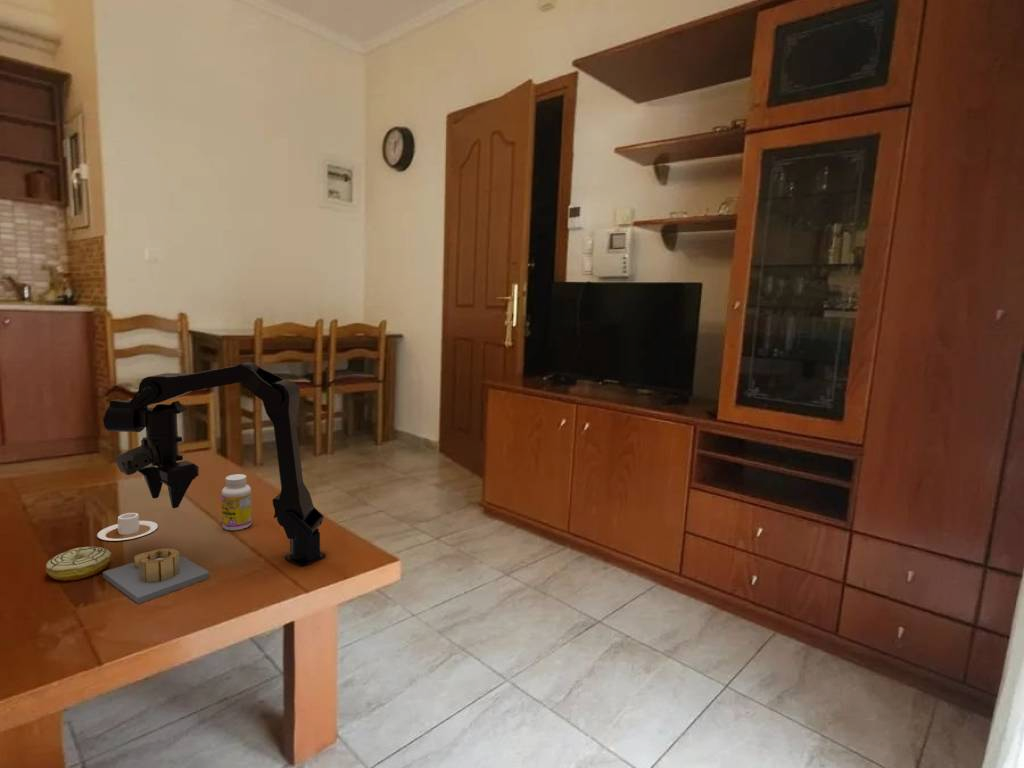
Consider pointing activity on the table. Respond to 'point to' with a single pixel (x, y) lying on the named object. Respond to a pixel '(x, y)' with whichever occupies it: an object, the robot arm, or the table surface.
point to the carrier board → (142, 591)
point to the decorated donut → (78, 563)
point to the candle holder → (127, 527)
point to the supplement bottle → (236, 503)
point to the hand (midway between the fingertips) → (165, 502)
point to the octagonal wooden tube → (159, 565)
